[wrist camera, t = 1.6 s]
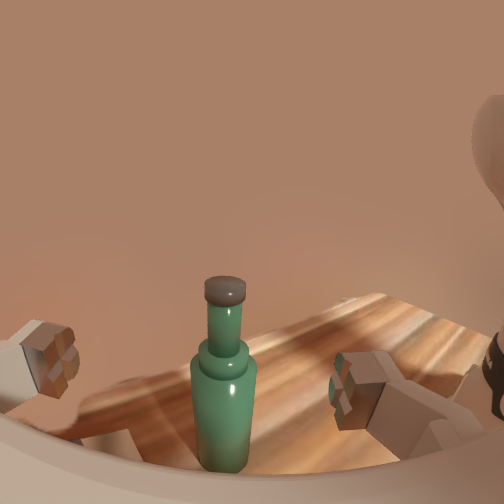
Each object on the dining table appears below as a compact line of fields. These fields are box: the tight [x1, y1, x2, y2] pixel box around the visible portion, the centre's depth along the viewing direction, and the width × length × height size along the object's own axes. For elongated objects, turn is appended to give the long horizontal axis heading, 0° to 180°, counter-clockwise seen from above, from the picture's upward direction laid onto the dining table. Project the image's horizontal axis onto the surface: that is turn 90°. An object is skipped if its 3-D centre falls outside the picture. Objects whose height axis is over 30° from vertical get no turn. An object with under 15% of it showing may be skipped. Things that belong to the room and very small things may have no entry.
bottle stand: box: [69, 428, 143, 462], centre depth 16 cm, size 20×14×5 cm
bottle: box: [190, 276, 257, 474], centre depth 24 cm, size 5×5×20 cm
